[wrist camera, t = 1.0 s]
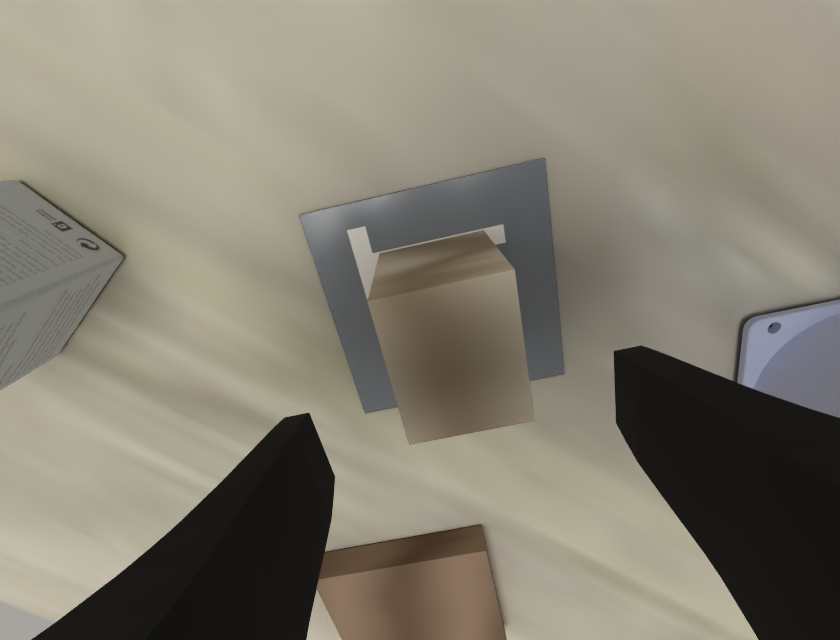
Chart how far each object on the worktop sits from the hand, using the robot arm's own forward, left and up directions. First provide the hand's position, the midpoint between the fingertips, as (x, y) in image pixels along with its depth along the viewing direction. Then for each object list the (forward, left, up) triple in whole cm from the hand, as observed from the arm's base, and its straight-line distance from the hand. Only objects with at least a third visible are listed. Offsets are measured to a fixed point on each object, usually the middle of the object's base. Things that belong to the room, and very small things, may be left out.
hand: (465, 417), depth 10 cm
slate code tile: (0, 0, -8) cm, 8 cm away
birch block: (0, 0, -8) cm, 8 cm away
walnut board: (+5, +18, -8) cm, 20 cm away
